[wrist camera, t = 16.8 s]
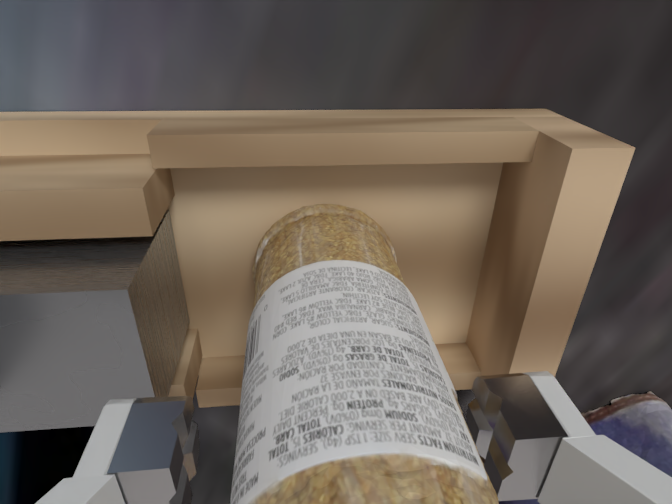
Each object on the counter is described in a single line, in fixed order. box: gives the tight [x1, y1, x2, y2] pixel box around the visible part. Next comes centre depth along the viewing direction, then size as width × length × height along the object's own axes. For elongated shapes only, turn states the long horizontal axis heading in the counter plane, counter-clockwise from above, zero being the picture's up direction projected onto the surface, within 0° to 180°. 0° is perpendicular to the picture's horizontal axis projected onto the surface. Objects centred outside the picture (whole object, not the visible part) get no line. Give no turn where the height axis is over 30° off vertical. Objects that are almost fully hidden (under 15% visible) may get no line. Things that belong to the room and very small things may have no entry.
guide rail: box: [0, 109, 635, 408], centre depth 13 cm, size 9×26×4 cm, turn 89°
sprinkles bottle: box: [230, 204, 499, 504], centre depth 8 cm, size 5×5×13 cm
